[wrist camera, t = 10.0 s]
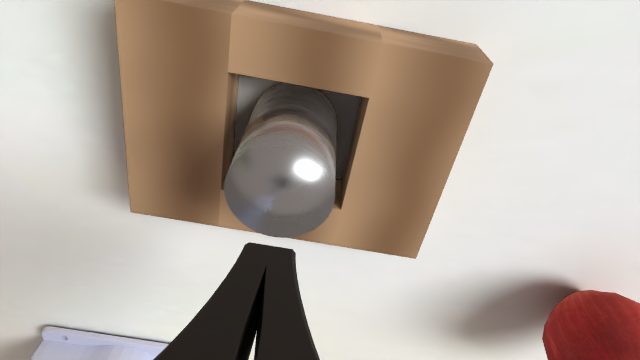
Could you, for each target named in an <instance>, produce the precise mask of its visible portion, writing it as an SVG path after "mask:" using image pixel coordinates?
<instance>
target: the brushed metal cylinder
mask: <svg viewBox="0 0 640 360" xmlns="http://www.w3.org/2000/svg"><path fill="white" fill-rule="evenodd" d="M336 136H337V118H336V113H335V110H334V108H333V106H332V104H331V102H330V101H329V99H328V98H327V97H326V96H325V95H324V94H323V93H322V92H321V91H319V90H318V89H316V88H312V87H306V86H301V85H296V84H290V83H281V84H278V85H275V86H273V87H271V88H270V89H268V90H267V91H265V92H264V93H263V94H262V95H261V97H260V98H259V99H258V101H257V102H256V105H255V107H254V109H253V112H252V114H251V117H250V119H249V122H248V124H247V126H246V129H245V131H244V134H243V136H242V139H241V141H240V143H239V146H238V148H237V151H236V153H235V156H234V158H233V160H232V163H231V165H230V168H229V170H228V173H227V175H226V178H225V182H224V194H225V198H226V201H227V204H228V206H229V208H230V210H231V211H232V213H233V214H234V215H235V217H236V218H237V219H238V220H239V221H240V222H242V223H243V224H244V225H245V226H247V227H249V228H250V229H252V230H254V231H256V232H258V233H261V234H264V235H268V236H273V237H282V238H284V237H295V236H300V235H303V234H306V233H309V232H311V231H313V230H314V229H316V228H317V227H319V226H320V225H321V224H322V223H323V222H324V221H325V220H326V219H327V218H328V216H329V215H330V213H331V211H332V209H333V206H334V202H335V176H336Z"/></svg>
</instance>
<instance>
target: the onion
mask: <svg viewBox="0 0 640 360" xmlns="http://www.w3.org/2000/svg"><path fill="white" fill-rule="evenodd" d="M542 339H543V343H544V347H545V351H546V354H547V358H548V360H640V303H637V302H635V301H633V300H630V299H628V298H626V297H623V296H621V295H619V294H616V293H609V292H599V291H594V290H587V291H576V292H574V293H573V294H570V295H568V296H567V297H565V298H564V299H563V300H562V301H561V302H559V303H558V304H557V305H556V306H555V307H554V309H553V311H552V312H551V314H550V316H549V318H548V320H547V322H546V324H545V326H544V332H543V338H542Z"/></svg>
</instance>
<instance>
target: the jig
mask: <svg viewBox="0 0 640 360" xmlns="http://www.w3.org/2000/svg"><path fill="white" fill-rule="evenodd" d="M114 1H115V14H116V27H117V40H118V53H119V66H120V80H121V93H122V106H123V119H124V132H125V145H126V158H127V172H128V185H129V198H130V211H131V212H133V213H139V214H145V215H152V216H158V217H164V218H170V219H176V220H182V221H188V222H194V223H201V224H207V225H213V226H219V227H225V228H231V229H237V230H243V231H249V232H256V231H254V230H252V229H250V228H249V227H247V226H245V225H244V224H243V223H242V222H240V221H239V220H238V219H237V218H236V217H235V215H234V214H233V213H232V211H231V210H230V208H229V206H228V204H227V201H226V198H225V194H224V182H225V178H226V175H227V173H228V170H229V168H230V165H231V163H232V158H233V145H234V132H235V119H236V106H237V93H238V80H239V74H241V75H246V76H252V77H257V78H263V79H268V80H274V81H279V82H285V83H290V84H296V85H301V86H306V87H312V88H317V89H323V90H328V91H334V92H339V93H345V94H350V95H356V96H361V102H360V106H359V110H358V114H357V118H356V122H355V126H354V131H353V135H352V139H351V143H350V147H349V151H348V155H347V160H346V164H345V168H344V172H343V176H342V180H337V179H335V202H334V206H333V209H332V211H331V213H330V215H329V216H328V218H327V219H326V220H325V221H324V222H323V223H322V224H321V225H320V226H319V227H317V228H316V229H314V230H313V231H311V232H309V233H306V234H303V235H300V236H295V237H286V238H292V239H298V240H305V241H311V242H317V243H323V244H329V245H335V246H341V247H347V248H354V249H360V250H366V251H372V252H378V253H384V254H390V255H396V256H402V257H409V258H415V259H416V257H417V254H418V252H419V249H420V247H421V244H422V242H423V239H424V237H425V234H426V232H427V229H428V227H429V224H430V222H431V219H432V217H433V214H434V212H435V209H436V206H437V204H438V201H439V199H440V196H441V194H442V191H443V189H444V186H445V184H446V181H447V179H448V176H449V174H450V171H451V169H452V166H453V164H454V161H455V159H456V156H457V154H458V151H459V149H460V146H461V144H462V141H463V139H464V136H465V134H466V131H467V129H468V126H469V124H470V121H471V119H472V116H473V113H474V111H475V108H476V106H477V103H478V101H479V98H480V96H481V93H482V91H483V88H484V86H485V83H486V81H487V78H488V76H489V73H490V71H491V68H492V66H493V63H492V62H491V61H490V59H489V58H488V57H487V56H486V55H485V54H484V53H483V51H482V50H481V49H480V48H479V47H478V46H477V45H476V44H471V43H466V42H461V41H456V40H451V39H445V38H440V37H435V36H430V35H425V34H419V33H414V32H409V31H404V30H399V29H394V28H388V27H383V26H378V25H373V24H368V23H362V22H357V21H352V20H347V19H342V18H336V17H331V16H326V15H321V14H316V13H311V12H305V11H300V10H295V9H290V8H285V7H279V6H274V5H269V4H264V3H259V2H253V1H248V0H114ZM256 233H258V232H256Z"/></svg>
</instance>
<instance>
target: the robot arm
mask: <svg viewBox="0 0 640 360" xmlns="http://www.w3.org/2000/svg"><path fill="white" fill-rule="evenodd" d="M295 256H296V253H295V252H294V251H293V249H287V248H281V247H274V246H268V245H262V244H256V243H250V242H249V243H247V244H246V245H245V246H244V248H243V250H242V252H241V254H240V256H239V258H238V259H237V261H236V263H235V264H234V266H233V267H232V269H231V270H230V272H229V273H228V275H227V276H226V278H225V279H224V280H223V282H222V283H221V285H220V286H219V287H218V289H217V290H216V291H215V293H214V294H213V295H212V297H211V298H210V299H209V300H208V302H207V303H206V304H205V305H204V306H203V308H202V309H201V310H200V311H199V312H198V313H197V315H196V316H195V317H194V318H193V319H192V321H191V322H190V323H189V324H188V325H187V326H186V327H185V328H184V329H183V330H182V331H181V333H180V334H179V335H178V336H177V337H176V338H175V339H174V340H173V341H172V342H171V343H170V344H166V343H159V342H153V341H146V340H139V339H132V338H125V337H119V336H112V335H105V334H98V333H92V332H85V331H78V330H71V329H64V328H58V327H51V326H48V327H45V328H44V329H43V331H42V333H41V334H42V338H43V341H42V342H41V344H40V345H39V346H38V348H37V349H36V351H35V352H34V354H33V355H32V357H31V358H30V360H248V359H249V355H250V352H251V349H252V345H253V342H254V338H255V335H256V345H255V355H254V360H320V359H319V356H318V353H317V351H316V348H315V345H314V342H313V339H312V336H311V333H310V330H309V327H308V323H307V320H306V316H305V312H304V308H303V304H302V300H301V296H300V291H299V286H298V280H297V273H296V261H295ZM256 331H257V334H256Z"/></svg>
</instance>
